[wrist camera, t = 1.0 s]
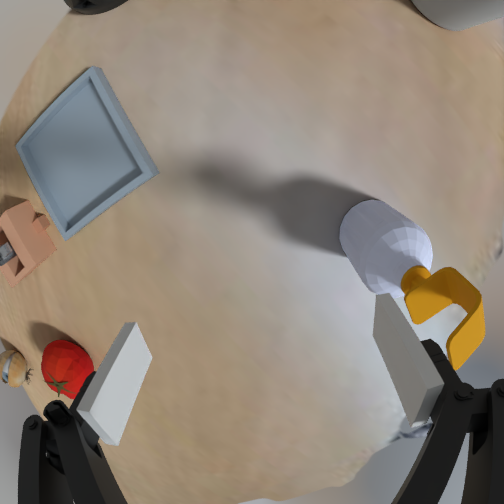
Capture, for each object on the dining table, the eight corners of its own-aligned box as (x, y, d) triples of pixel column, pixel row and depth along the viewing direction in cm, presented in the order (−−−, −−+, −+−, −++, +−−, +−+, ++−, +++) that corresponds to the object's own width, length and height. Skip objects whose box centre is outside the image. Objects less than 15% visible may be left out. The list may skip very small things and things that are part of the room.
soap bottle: (326, 221, 38) (401, 345, 15) (383, 186, 36) (510, 267, 13) (355, 272, 41) (425, 407, 18) (406, 240, 39) (511, 347, 16)
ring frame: (4, 228, 40) (-16, 240, 34) (33, 194, 37) (10, 204, 32) (30, 272, 43) (12, 288, 38) (62, 244, 41) (41, 259, 35)
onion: (30, 402, 49) (-18, 379, 43) (39, 377, 57) (-6, 357, 51) (29, 379, 47) (-22, 354, 41) (39, 354, 55) (-8, 332, 49)
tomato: (77, 376, 53) (58, 408, 44) (47, 332, 49) (22, 362, 39) (113, 376, 52) (95, 412, 43) (81, 327, 47) (56, 362, 38)
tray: (24, 144, 34) (15, 145, 32) (101, 68, 30) (92, 65, 28) (73, 235, 40) (65, 241, 38) (159, 172, 36) (153, 175, 34)
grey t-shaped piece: (17, 239, 41) (-12, 258, 33) (32, 223, 39) (1, 241, 32) (25, 252, 42) (-4, 272, 34) (40, 237, 40) (9, 257, 33)
